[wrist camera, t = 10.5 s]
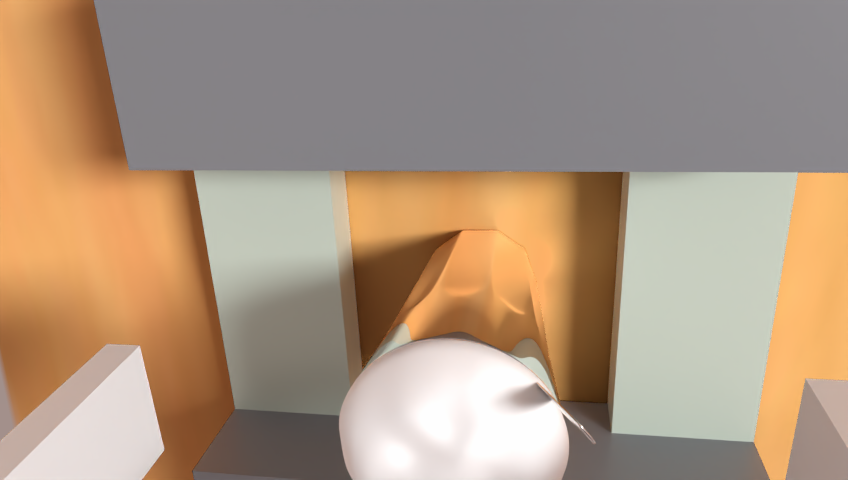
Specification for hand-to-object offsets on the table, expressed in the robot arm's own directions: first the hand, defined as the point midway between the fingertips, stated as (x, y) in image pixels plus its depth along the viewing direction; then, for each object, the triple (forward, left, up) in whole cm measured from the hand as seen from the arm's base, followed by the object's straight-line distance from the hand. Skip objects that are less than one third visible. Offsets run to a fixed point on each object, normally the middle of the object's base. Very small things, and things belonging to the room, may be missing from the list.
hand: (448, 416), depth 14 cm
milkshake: (0, 0, -8) cm, 8 cm away
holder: (0, 0, -8) cm, 8 cm away
